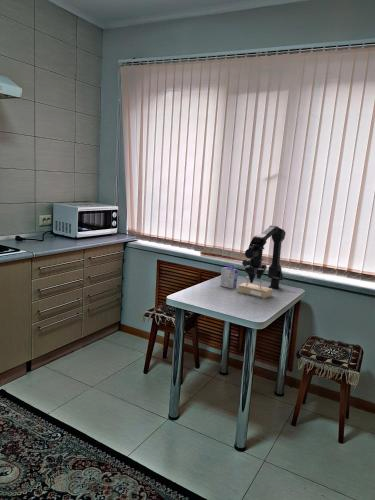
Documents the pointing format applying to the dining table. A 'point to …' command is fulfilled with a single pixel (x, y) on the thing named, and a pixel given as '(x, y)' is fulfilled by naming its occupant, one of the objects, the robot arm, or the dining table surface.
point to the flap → (255, 285)
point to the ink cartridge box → (229, 277)
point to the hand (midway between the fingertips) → (254, 281)
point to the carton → (254, 292)
